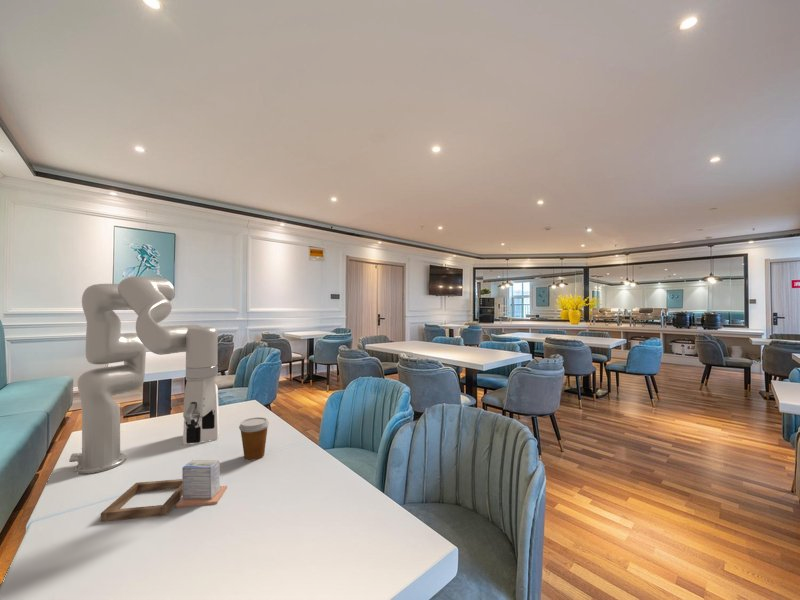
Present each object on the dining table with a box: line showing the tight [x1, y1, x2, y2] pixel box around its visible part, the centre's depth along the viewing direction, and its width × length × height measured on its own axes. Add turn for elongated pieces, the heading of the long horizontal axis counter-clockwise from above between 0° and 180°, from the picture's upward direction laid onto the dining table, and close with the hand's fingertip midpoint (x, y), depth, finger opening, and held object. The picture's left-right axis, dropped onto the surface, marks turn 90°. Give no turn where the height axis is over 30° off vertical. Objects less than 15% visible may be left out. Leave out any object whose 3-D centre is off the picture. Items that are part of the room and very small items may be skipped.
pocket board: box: [100, 478, 183, 522], centre depth 92 cm, size 14×14×2 cm
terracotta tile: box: [175, 485, 228, 508], centre depth 94 cm, size 10×8×1 cm
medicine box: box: [181, 459, 221, 499], centre depth 94 cm, size 8×4×9 cm, turn 89°
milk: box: [182, 383, 220, 445], centre depth 137 cm, size 12×12×26 cm
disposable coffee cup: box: [238, 416, 270, 461], centre depth 119 cm, size 10×10×12 cm
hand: (201, 435), depth 95 cm, fingers open, 9 cm apart
